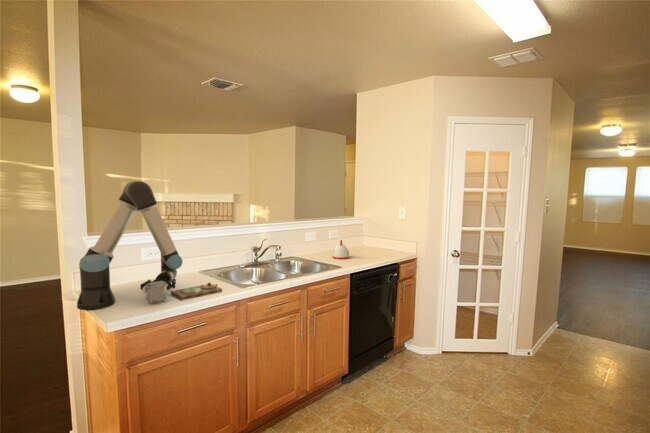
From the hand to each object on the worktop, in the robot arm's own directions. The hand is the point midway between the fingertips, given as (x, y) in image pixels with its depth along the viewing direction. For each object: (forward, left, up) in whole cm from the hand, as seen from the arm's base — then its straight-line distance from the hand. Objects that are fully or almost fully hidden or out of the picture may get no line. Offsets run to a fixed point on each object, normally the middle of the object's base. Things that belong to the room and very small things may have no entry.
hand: (154, 290), depth 166 cm
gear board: (+17, +19, -7) cm, 26 cm away
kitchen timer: (+120, +99, -8) cm, 155 cm away
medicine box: (0, +5, -6) cm, 8 cm away
